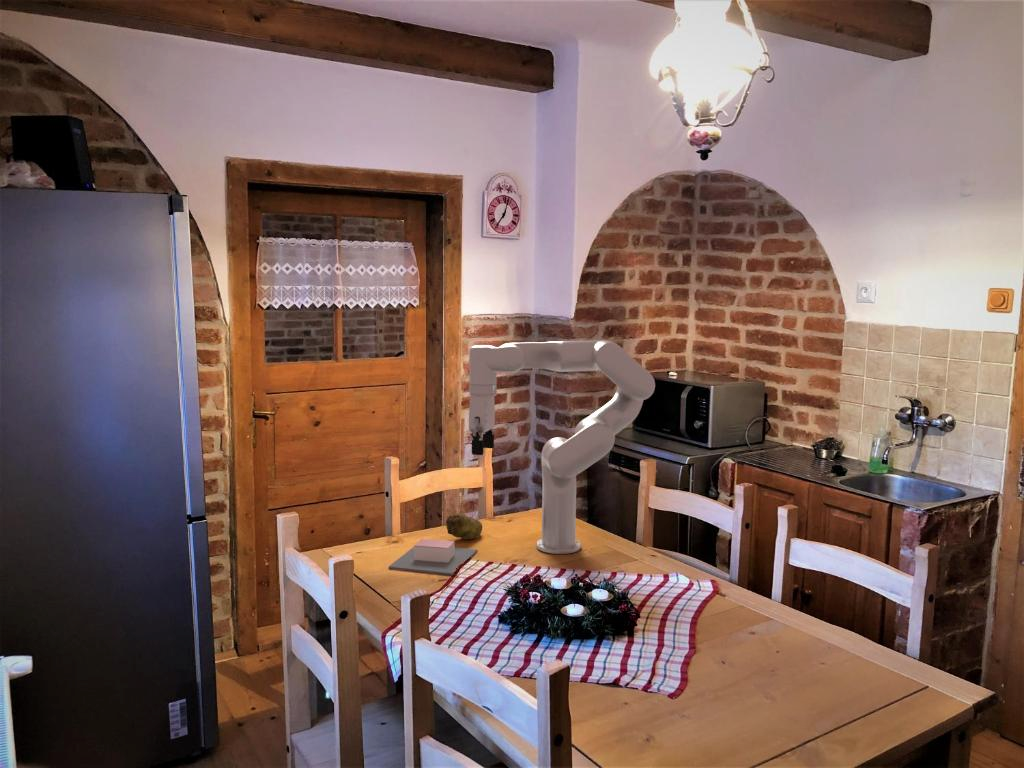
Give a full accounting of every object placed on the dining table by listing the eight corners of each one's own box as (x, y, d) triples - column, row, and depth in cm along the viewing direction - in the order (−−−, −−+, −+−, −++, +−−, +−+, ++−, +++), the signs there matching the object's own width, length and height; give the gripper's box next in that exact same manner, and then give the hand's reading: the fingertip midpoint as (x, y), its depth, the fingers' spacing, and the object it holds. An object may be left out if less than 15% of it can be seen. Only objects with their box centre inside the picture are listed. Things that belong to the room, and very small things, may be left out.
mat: (417, 545, 236) (417, 543, 236) (477, 551, 231) (477, 549, 231) (388, 568, 217) (388, 566, 217) (453, 575, 212) (453, 573, 212)
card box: (454, 555, 226) (454, 541, 225) (448, 562, 220) (448, 548, 219) (421, 552, 228) (421, 538, 227) (414, 559, 222) (414, 545, 221)
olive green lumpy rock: (491, 539, 242) (491, 512, 241) (452, 546, 236) (452, 519, 235) (477, 531, 249) (477, 506, 248) (439, 538, 243) (439, 512, 242)
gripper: (479, 386, 236) (479, 444, 238) (459, 393, 220) (459, 456, 222) (504, 387, 234) (504, 446, 236) (486, 394, 218) (486, 458, 220)
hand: (483, 451), depth 229 cm, fingers open, 9 cm apart
